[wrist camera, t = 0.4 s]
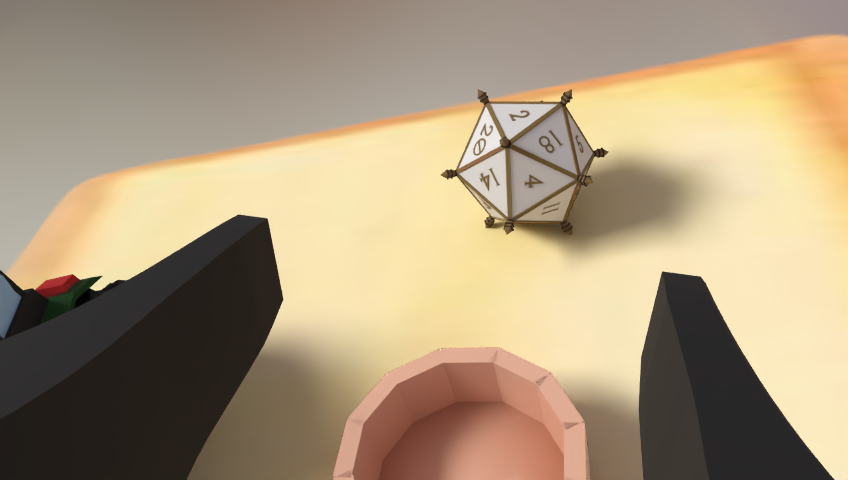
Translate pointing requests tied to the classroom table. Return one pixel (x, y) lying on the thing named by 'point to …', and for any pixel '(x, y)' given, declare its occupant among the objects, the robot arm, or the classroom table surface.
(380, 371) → the classroom table surface
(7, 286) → the toy tractor
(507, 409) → the pink round pot
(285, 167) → the classroom table surface
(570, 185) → the game die
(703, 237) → the classroom table surface
